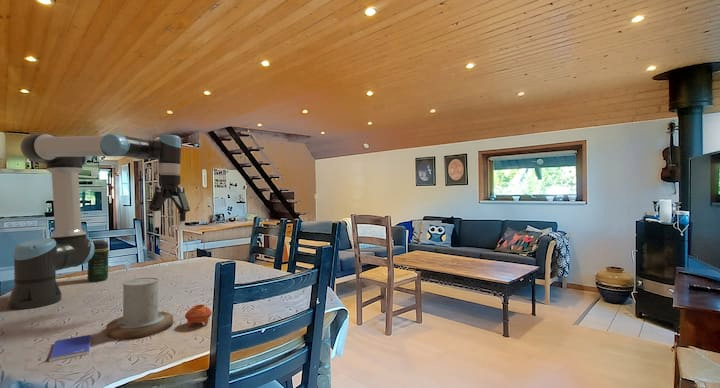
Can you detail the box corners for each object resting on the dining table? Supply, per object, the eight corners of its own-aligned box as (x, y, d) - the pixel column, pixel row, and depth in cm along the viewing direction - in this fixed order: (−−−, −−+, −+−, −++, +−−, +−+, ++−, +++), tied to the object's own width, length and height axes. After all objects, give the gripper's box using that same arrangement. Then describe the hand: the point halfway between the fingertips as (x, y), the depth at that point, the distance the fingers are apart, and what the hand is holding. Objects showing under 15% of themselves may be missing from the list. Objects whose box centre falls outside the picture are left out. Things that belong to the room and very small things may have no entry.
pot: (193, 330, 112) (190, 308, 112) (182, 330, 117) (179, 308, 117) (217, 322, 118) (214, 301, 119) (206, 322, 123) (203, 302, 124)
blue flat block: (89, 349, 96) (91, 334, 106) (49, 357, 91) (55, 340, 102) (89, 355, 96) (91, 339, 106) (49, 363, 91) (55, 346, 102)
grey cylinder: (151, 312, 121) (151, 276, 121) (163, 319, 115) (163, 281, 115) (118, 320, 114) (118, 281, 114) (129, 328, 108) (129, 287, 108)
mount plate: (92, 332, 110) (93, 324, 110) (149, 314, 126) (149, 307, 126) (131, 343, 102) (131, 335, 102) (185, 322, 119) (185, 315, 119)
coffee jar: (108, 280, 170) (108, 241, 170) (87, 283, 165) (87, 242, 165) (108, 276, 178) (108, 238, 178) (87, 278, 173) (88, 239, 173)
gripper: (200, 175, 140) (199, 229, 141) (157, 174, 151) (156, 225, 151) (184, 174, 134) (182, 231, 134) (139, 173, 144) (138, 227, 144)
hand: (168, 228), depth 142 cm, fingers open, 13 cm apart
